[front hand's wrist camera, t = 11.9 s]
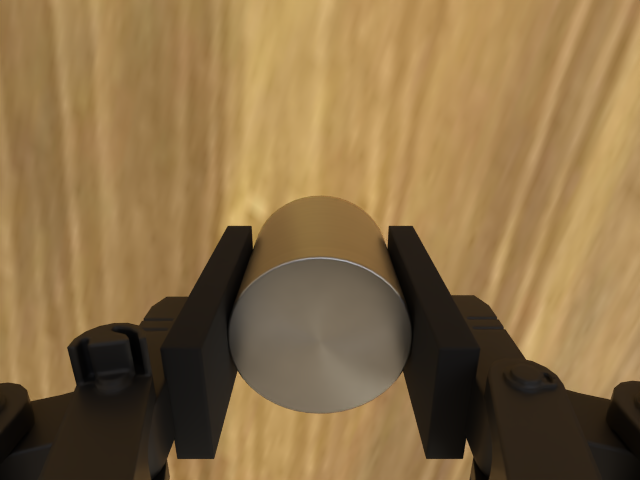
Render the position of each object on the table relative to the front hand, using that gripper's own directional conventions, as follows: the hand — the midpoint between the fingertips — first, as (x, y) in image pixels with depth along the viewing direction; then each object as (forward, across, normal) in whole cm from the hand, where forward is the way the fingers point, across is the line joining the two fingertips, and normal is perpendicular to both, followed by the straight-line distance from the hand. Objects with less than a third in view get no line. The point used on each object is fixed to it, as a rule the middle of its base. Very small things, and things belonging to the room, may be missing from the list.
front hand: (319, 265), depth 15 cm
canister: (0, 0, 0) cm, 0 cm away
